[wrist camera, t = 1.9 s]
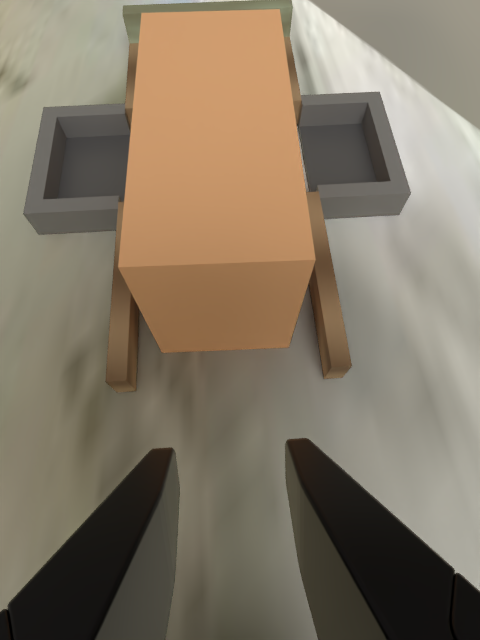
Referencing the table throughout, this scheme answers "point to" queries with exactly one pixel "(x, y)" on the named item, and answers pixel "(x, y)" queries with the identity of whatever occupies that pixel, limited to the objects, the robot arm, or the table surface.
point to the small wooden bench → (322, 277)
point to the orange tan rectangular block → (215, 184)
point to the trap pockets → (113, 148)
